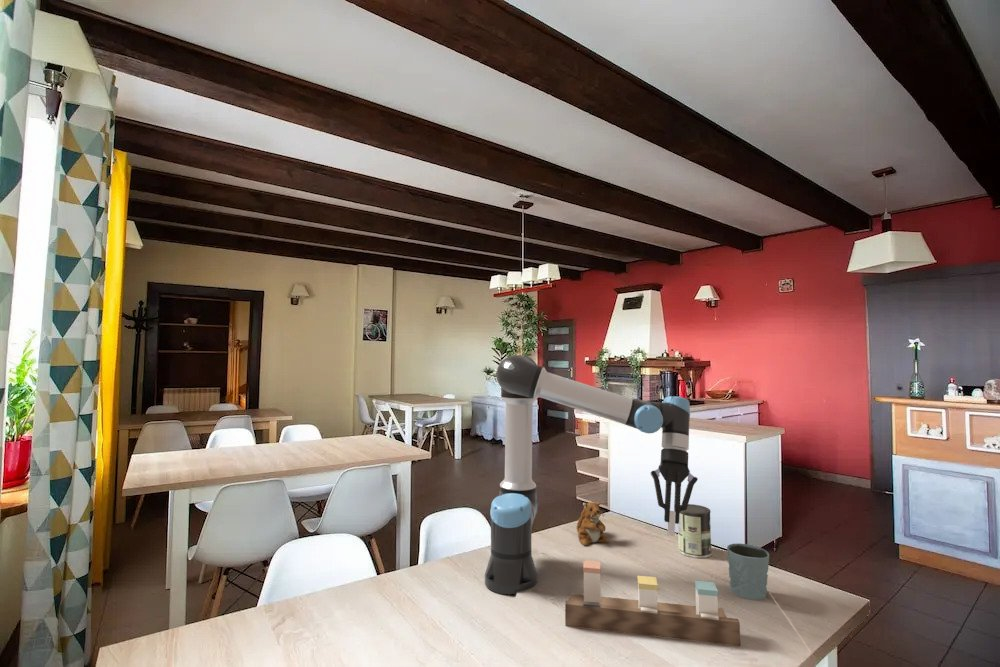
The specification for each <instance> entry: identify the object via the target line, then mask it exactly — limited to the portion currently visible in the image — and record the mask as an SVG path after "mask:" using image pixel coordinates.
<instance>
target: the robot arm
mask: <svg viewBox="0 0 1000 667" xmlns="http://www.w3.org/2000/svg"><path fill="white" fill-rule="evenodd" d="M496 381H497V382H498V385H499V386H500V387H501V388H500V389H501V390H500V398H501V399H502V400H503V402H504V403H505V422H504V423H505V430H504V431H505V432H504V433H505V434H504V435H505V436H504V438H505V439H504V441H505V443H504V478H503V480H502V481H501V482H500V483H499V495H497V496H496V497H495V498H493V500H492V501H491V503H490V504H491V505H490V506H491V507H490V511H489V512H490V513H489V514H490V515H489V516H490V556H489V560H488V562H487V566H486V569H485V573H484V585H485V587H486V588H487V589H488V590H490V591H492V592H493V593H497V594H501V595H506V594H508V596H511V595H510V594H516V595H517V593H519V592H524V591H528V590H530V589H532V588H534V587H535V586H537V584H538V581H539V579H538V578H539V577H538V576H539V575H538V571H537V568H536V564H535V561H534V558H533V555H532V554H533V553H532V528H533V523H534V521H535V518H536V517H537V514H538V510H539V503H538V502H539V501H538V498H537V484H536V483H535V481H534V480H533V416H534V415H533V414H534V413H533V406H534V403H535V401H537V399H538V398H541V399H544V400H547V401H550V402H553V403H556V404H560V405H563V406H567V407H568V408H572V409H575V410H579V411H582V412H584V413H587V414H588V413H589V414H591V415H593V416H597V417H599V418H602V419H603V418H604V419H606V420H609V421H613V422H615V423H619V424H622V425H624V426H627V427H630V428H633V429H637V430H639V431H640V432H642V433H645V434H655V433H657V432H658V431H660V429H661V430H662V432H661V447H662V449H661V450H660V464H659V465H658V468H656V469H655V470H651V471H650V476H651V478H652V479H653V483H654V489H655V494H656V499H657V505H658V507H661V508H662V509H664V520H663V521H664V523H667V536H670V537H675V535H676V534H675V533H676V532H675V531H676V524H677V525H678V524H679V515H680V511H684V510H686V509H687V506H688V504H690V503H689V502H690V500H691V496H692V493H693V489H694V485H695V484H696V483H697V481H698V477H696V476H694V475H693V474H692V473H691V470H690V469H689V453H688V452H689V451H688V450H689V447H690V422H691V421H690V419H691V406H690V401H689V400H688V399H687V398H685V397H682V396H673V395H671V396H670V395H669V396H666V397H664V398H663V401H662V402H657V401H650V400H643V399H637V398H631V397H627V396H625V395H622V394H618V393H614V392H612V391H609V390H605V389H601V388H599V387H596V386H592V385H589V384H587V383H583V382H580V381H577V380H573V379H571V378H567V377H565V376H560V375H557V374H556V373H555V374H554V373H552V372H548V371H547V370H546V368H545V366H541V365H538V364H537V363H536V361H535V360H534V359H532V358H531V357H529V356H527V355H522V354H516V355H514V354H513V355H510V356H507V357H505V358H504V359H502V360H501V361H500V362H499V364H498V366H497V368H496ZM660 474H661V476H662V478H663V479H664V480H665V489H664V490H665V494H664V499H663V494H662V488H661V482H660ZM686 479H687V486H686V489H685V493H684V496H683V499H682V503H681V497H682V496H681V493H682V483H684V481H685V480H686ZM672 483H674V504H673V505H674V506H673V510H671V501H672V500H671V498H672ZM680 505H681V506H680Z"/></svg>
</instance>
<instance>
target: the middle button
mask: <svg viewBox="0 0 1000 667" xmlns="http://www.w3.org/2000/svg"><path fill="white" fill-rule="evenodd" d="M658 590H659V586H658V581H657V577H656V576H649V575H637V594H638V596H637V597H638V599H637V600H638V608H639V609H641V607H646V608H655V609H657V610H658V607H657V602H658Z"/></svg>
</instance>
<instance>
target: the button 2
mask: <svg viewBox="0 0 1000 667" xmlns="http://www.w3.org/2000/svg"><path fill="white" fill-rule="evenodd" d="M694 587H695V606H696V614H697V615H700V613H703V614H713V615H718V608H719V604H718V601H719V600H718V599H719V598H718V597H719V590H718V588H717V586H716V584H715V582H711V581H702V580H694Z"/></svg>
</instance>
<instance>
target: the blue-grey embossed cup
mask: <svg viewBox="0 0 1000 667" xmlns="http://www.w3.org/2000/svg"><path fill="white" fill-rule="evenodd" d="M726 552H727V560H728V561H727V563H728V576H729V579H730V580H729V587H730V592H732V594H734V595H736V596H737V597H740V598H742V599H747V600H752V601H761V600H765V599H766V598H767V593H768V592H767V585H768V572H769V562H770V553H769V551H768V550H766V549H764V548H762V547H760V546H756V545H754V544H753V545H752V544H747V543H731V544H729V545H727V546H726Z"/></svg>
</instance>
